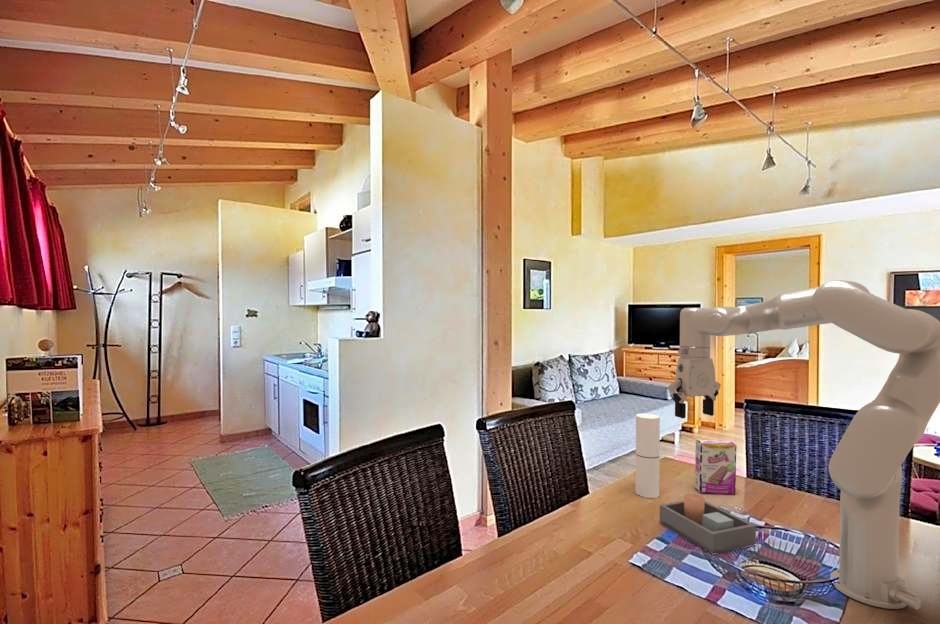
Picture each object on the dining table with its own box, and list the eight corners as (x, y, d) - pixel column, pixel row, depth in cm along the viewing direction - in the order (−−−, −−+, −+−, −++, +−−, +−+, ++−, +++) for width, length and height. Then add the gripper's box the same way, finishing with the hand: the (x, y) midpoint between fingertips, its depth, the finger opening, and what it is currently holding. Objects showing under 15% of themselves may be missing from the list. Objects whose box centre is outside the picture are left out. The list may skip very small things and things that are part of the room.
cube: (733, 539, 119) (733, 520, 119) (718, 542, 118) (718, 522, 118) (717, 530, 124) (717, 511, 124) (702, 533, 122) (702, 514, 122)
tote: (755, 545, 118) (755, 525, 118) (712, 554, 114) (713, 534, 114) (698, 515, 135) (699, 498, 135) (659, 522, 131) (659, 504, 131)
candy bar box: (700, 494, 151) (700, 443, 151) (694, 488, 156) (694, 438, 156) (736, 495, 150) (737, 444, 150) (729, 489, 155) (730, 439, 155)
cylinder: (708, 525, 127) (709, 500, 127) (694, 528, 125) (695, 502, 125) (693, 517, 132) (693, 492, 131) (679, 520, 130) (680, 495, 129)
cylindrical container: (635, 496, 149) (636, 417, 149) (634, 488, 156) (635, 412, 156) (660, 499, 147) (660, 419, 147) (658, 490, 154) (658, 414, 153)
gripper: (680, 355, 121) (679, 421, 122) (730, 353, 127) (730, 416, 127) (659, 352, 129) (658, 415, 129) (708, 351, 134) (707, 410, 134)
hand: (694, 415), depth 128 cm, fingers open, 9 cm apart
